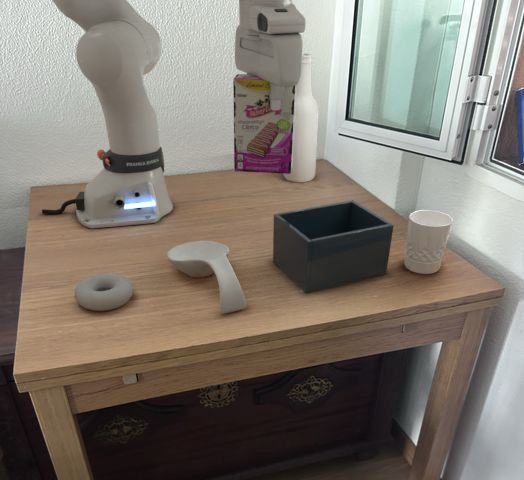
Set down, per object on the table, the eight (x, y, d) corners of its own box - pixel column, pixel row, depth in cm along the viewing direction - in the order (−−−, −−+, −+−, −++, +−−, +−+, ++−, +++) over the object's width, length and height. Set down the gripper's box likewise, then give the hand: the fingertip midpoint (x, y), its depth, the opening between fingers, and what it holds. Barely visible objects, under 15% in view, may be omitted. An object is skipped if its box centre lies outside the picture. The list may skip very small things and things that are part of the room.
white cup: (393, 261, 108) (400, 213, 102) (425, 254, 110) (434, 207, 105) (417, 279, 102) (426, 229, 96) (451, 271, 105) (462, 222, 99)
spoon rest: (161, 263, 107) (156, 229, 103) (216, 251, 111) (214, 218, 107) (203, 321, 90) (200, 283, 86) (266, 305, 94) (267, 268, 90)
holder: (305, 293, 98) (308, 242, 92) (272, 262, 108) (273, 214, 102) (386, 274, 104) (393, 224, 98) (348, 246, 114) (353, 200, 108)
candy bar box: (233, 172, 104) (231, 78, 94) (237, 164, 108) (235, 73, 98) (292, 175, 103) (295, 79, 93) (293, 166, 107) (297, 75, 97)
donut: (137, 285, 100) (81, 286, 99) (134, 268, 98) (78, 269, 97) (131, 314, 92) (70, 315, 91) (128, 296, 90) (67, 298, 89)
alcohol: (278, 174, 151) (280, 53, 134) (306, 171, 154) (312, 51, 136) (291, 184, 145) (295, 58, 127) (320, 180, 147) (328, 56, 130)
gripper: (225, 11, 97) (227, 95, 105) (274, 22, 82) (273, 119, 90) (257, 10, 99) (257, 93, 107) (311, 20, 84) (306, 115, 92)
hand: (264, 105), depth 98 cm, fingers closed on candy bar box, 6 cm apart
